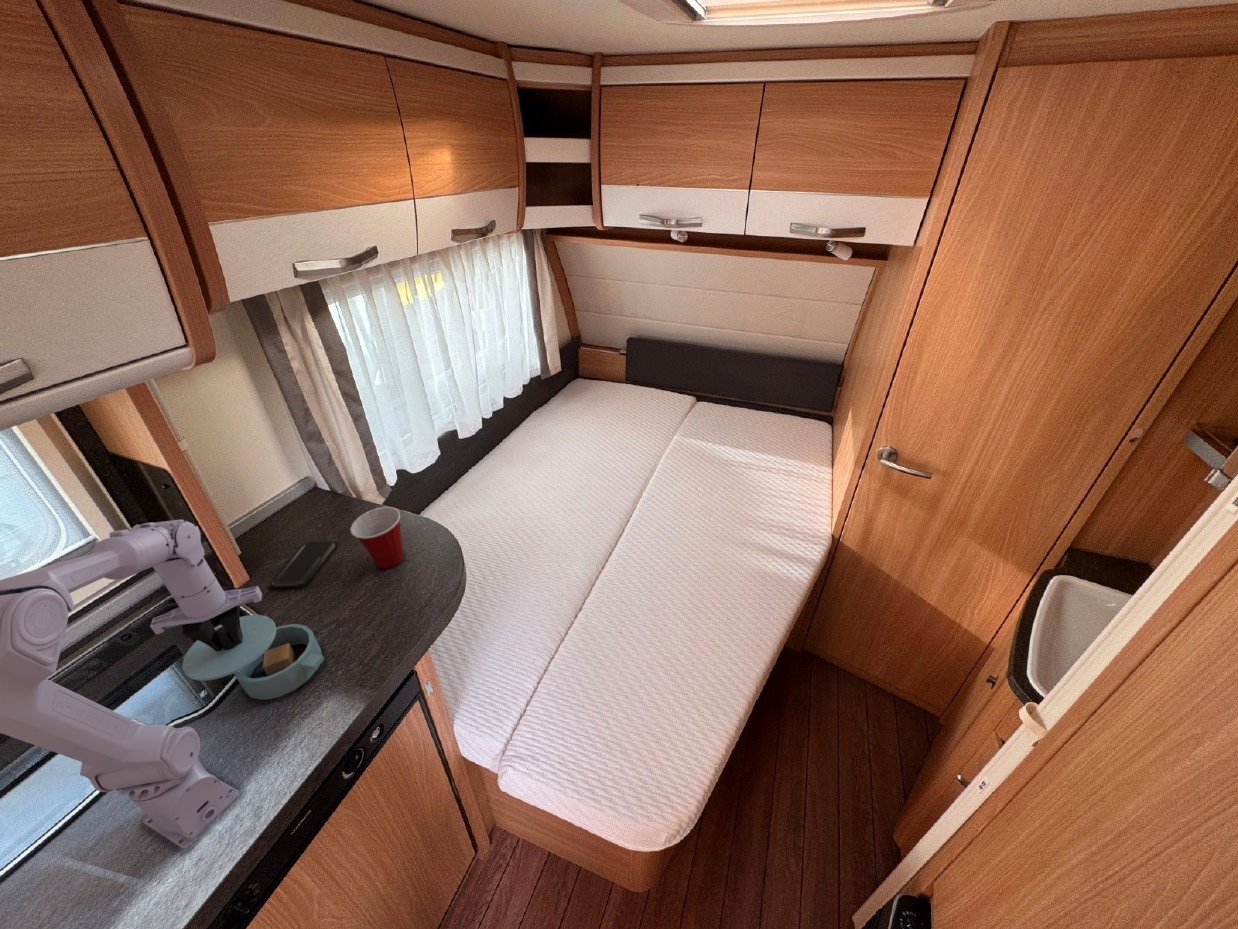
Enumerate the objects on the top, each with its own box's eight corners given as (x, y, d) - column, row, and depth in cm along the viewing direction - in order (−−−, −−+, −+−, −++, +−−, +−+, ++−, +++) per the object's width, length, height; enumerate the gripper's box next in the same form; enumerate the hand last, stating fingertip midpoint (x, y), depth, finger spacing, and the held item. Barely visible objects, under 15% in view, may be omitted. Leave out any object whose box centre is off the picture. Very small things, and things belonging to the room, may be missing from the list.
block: (296, 657, 97) (289, 642, 95) (296, 672, 94) (288, 658, 92) (272, 665, 96) (264, 651, 94) (271, 682, 93) (262, 667, 91)
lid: (233, 689, 82) (221, 670, 80) (164, 676, 84) (150, 658, 82) (295, 623, 93) (286, 606, 91) (233, 614, 96) (222, 597, 94)
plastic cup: (358, 560, 122) (342, 520, 116) (402, 540, 128) (389, 500, 122) (374, 583, 115) (358, 542, 109) (420, 560, 121) (408, 520, 115)
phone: (268, 584, 114) (304, 541, 127) (270, 588, 115) (306, 545, 127) (303, 583, 114) (335, 540, 127) (305, 587, 114) (337, 544, 127)
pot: (302, 709, 88) (290, 689, 86) (216, 692, 92) (202, 673, 89) (349, 650, 99) (340, 630, 96) (270, 637, 102) (260, 618, 100)
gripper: (248, 555, 87) (279, 612, 94) (143, 586, 81) (183, 643, 88) (244, 581, 82) (276, 639, 88) (131, 615, 76) (175, 674, 83)
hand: (230, 643), depth 88 cm, fingers closed on lid, 2 cm apart
